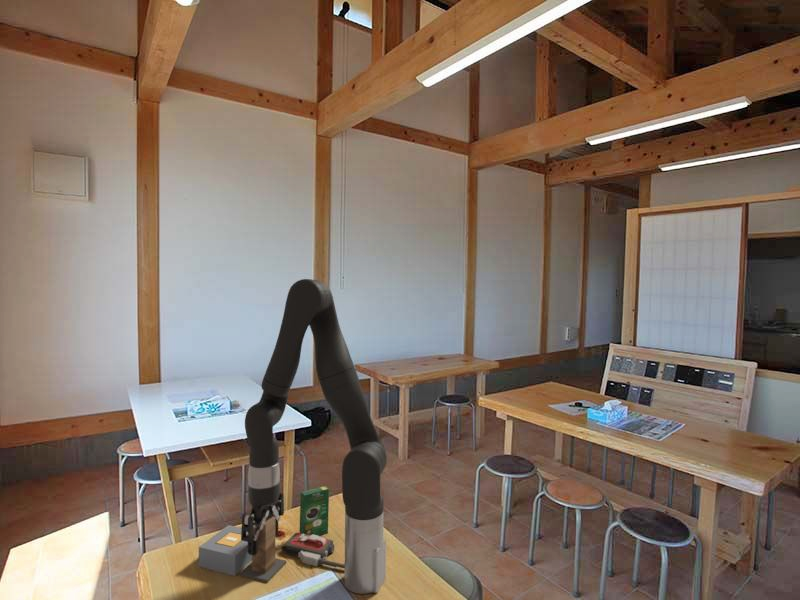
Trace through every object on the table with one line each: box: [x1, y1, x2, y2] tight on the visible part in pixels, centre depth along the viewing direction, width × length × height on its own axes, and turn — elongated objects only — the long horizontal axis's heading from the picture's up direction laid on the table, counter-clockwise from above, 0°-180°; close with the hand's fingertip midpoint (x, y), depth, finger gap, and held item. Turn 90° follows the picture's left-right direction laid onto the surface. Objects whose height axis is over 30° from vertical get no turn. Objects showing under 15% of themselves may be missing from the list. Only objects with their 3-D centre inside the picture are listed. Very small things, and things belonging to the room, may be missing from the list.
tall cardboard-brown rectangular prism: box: [251, 516, 276, 573], centre depth 109 cm, size 4×4×12 cm
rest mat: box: [239, 557, 287, 583], centre depth 109 cm, size 8×8×1 cm
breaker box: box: [198, 524, 252, 577], centre depth 114 cm, size 11×11×5 cm
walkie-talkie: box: [280, 532, 345, 569], centre depth 115 cm, size 9×4×20 cm
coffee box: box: [299, 485, 330, 536], centre depth 125 cm, size 8×3×13 cm, turn 126°
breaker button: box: [216, 532, 242, 548], centre depth 114 cm, size 5×5×4 cm
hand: (263, 544), depth 109 cm, fingers open, 8 cm apart
